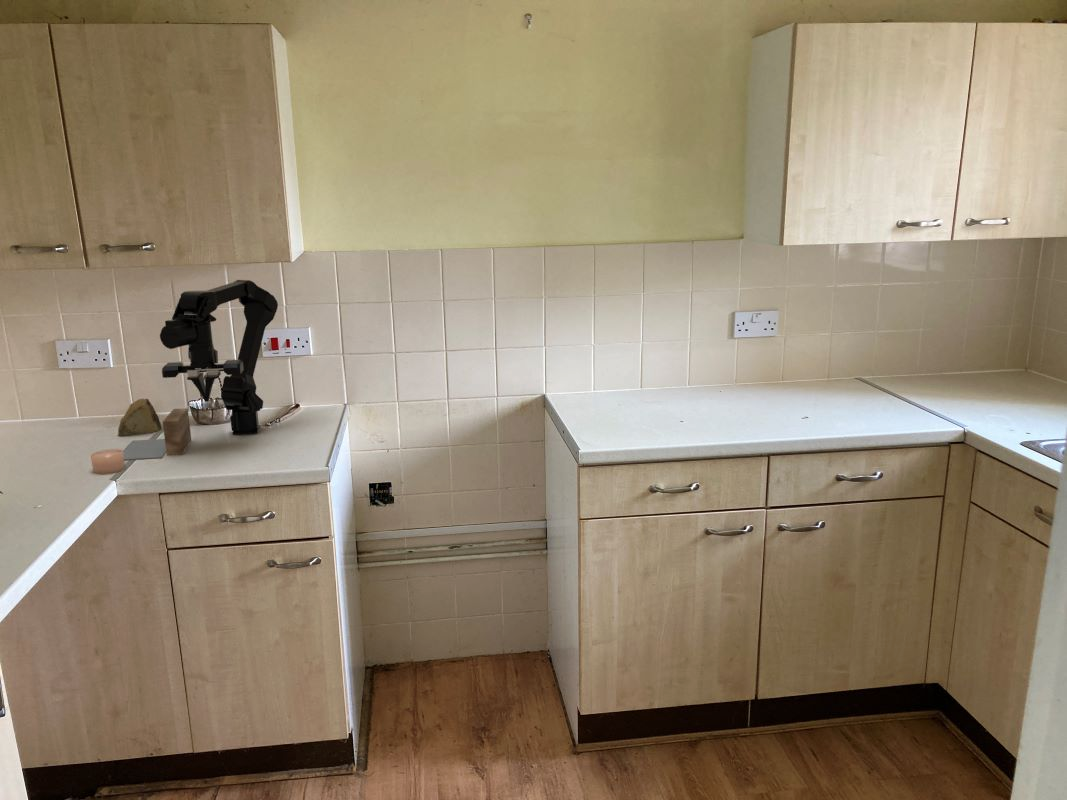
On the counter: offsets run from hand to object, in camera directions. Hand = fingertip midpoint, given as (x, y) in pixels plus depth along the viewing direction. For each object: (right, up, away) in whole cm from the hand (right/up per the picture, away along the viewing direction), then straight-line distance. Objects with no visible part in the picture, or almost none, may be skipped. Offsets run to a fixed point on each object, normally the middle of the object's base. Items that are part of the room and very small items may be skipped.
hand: (207, 401), depth 215 cm
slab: (-8, -12, +2) cm, 15 cm away
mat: (-16, -12, 0) cm, 20 cm away
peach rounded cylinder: (-18, -16, -14) cm, 28 cm away
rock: (-25, -9, +16) cm, 30 cm away
